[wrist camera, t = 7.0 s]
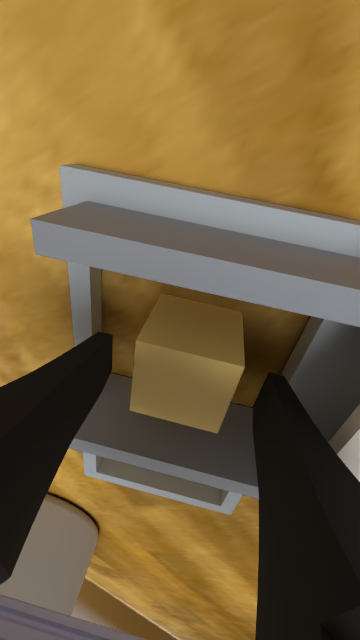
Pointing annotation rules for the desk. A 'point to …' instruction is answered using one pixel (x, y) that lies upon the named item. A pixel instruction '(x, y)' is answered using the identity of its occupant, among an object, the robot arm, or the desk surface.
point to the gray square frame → (215, 278)
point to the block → (188, 362)
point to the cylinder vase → (53, 557)
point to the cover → (349, 443)
